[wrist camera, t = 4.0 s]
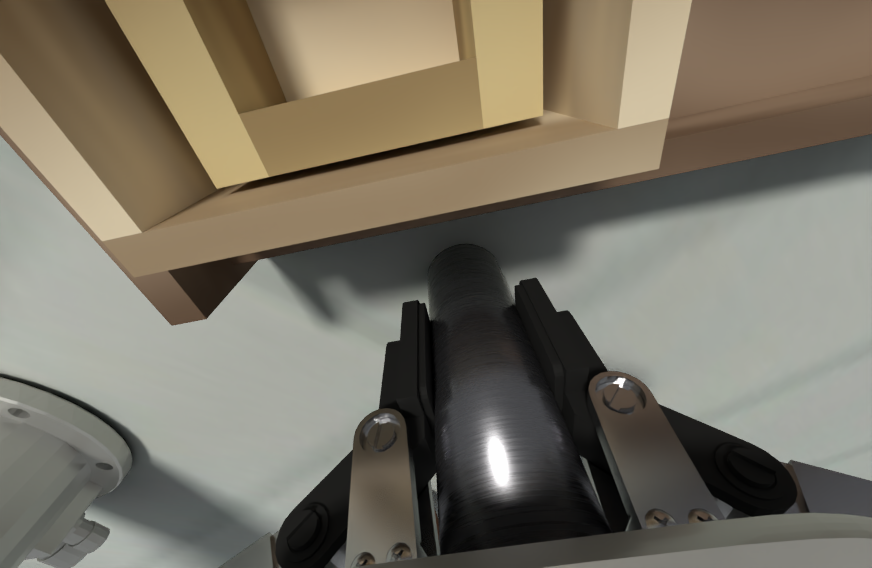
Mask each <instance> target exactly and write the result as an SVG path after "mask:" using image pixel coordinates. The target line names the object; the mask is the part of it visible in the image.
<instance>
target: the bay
mask: <svg viewBox="0 0 872 568" xmlns="http://www.w3.org/2000/svg"><path fill="white" fill-rule="evenodd" d="M869 134H872V0H692V3H691V8H690V14H689V19H688V24H687V29H686V34H685V39H684V44H683V49H682V54H681V59H680V64H679V69H678V74H677V79H676V85H675V90H674V95H673V100H672V105H671V110H670V115H669V120H668V125H667V130H666V135H665V140H664V145H663V150H662V156H661V161H660V166H659V169H655V170H651V171H646V172H641V173H636V174H631V175H627V176H622V177H617V178H612V179H607V180H602V181H598V182H593V183H588V184H583V185H578V186H573V187H569V188H564V189H559V190H554V191H549V192H544V193H540V194H535V195H530V196H525V197H520V198H516V199H511V200H506V201H501V202H496V203H491V204H487V205H482V206H477V207H472V208H467V209H462V210H458V211H453V212H448V213H443V214H438V215H433V216H429V217H424V218H419V219H414V220H409V221H405V222H400V223H395V224H390V225H385V226H380V227H376V228H371V229H366V230H361V231H356V232H351V233H347V234H342V235H337V236H332V237H327V238H322V239H318V240H313V241H308V242H303V243H298V244H293V245H289V246H284V247H279V248H274V249H269V250H265V251H260V252H255V253H250V254H245V255H240V256H236V257H231V258H226V259H221V260H216V261H211V262H207V263H202V264H197V265H192V266H187V267H182V268H178V269H173V270H168V271H163V272H158V273H154V274H149V275H144V276H139V277H133V276H132V275H131V274H130V272H129V271H128V270H127V269H126V268H125V267H124V266H123V265H122V263H121V262H120V261H119V260H118V259H117V258H116V257H115V255H114V254H113V253H112V252H111V251H110V250H109V249H108V248H107V246H106V245H105V244H104V243H103V242H102V241H101V240H100V239H99V237H98V236H97V235H96V234H95V233H94V232H93V231H92V230H91V228H90V227H89V226H88V225H87V224H86V223H85V222H84V221H83V219H82V218H81V217H80V216H79V215H78V214H77V213H76V212H75V210H74V209H73V208H72V207H71V206H70V205H69V204H68V202H67V201H66V200H65V199H64V198H63V197H62V196H61V195H60V193H59V192H58V191H57V190H56V189H55V188H54V187H53V186H52V184H51V183H50V182H49V181H48V180H47V179H46V178H45V177H44V175H43V174H42V173H41V172H40V171H39V170H38V169H37V168H36V166H35V165H34V164H33V163H32V162H31V161H30V160H29V158H28V157H27V156H26V155H25V154H24V153H23V152H22V151H21V149H20V148H19V147H18V146H17V145H16V144H15V143H14V142H13V140H12V139H11V138H10V137H9V136H8V135H7V134H6V133H5V131H4V130H3V129H2V128H1V127H0V135H1V136H2V137H3V139H4V140H5V141H6V142H7V143H8V144H9V145H10V146H11V147H12V149H13V150H14V151H15V152H16V153H17V154H18V155H19V156H20V157H21V159H22V160H23V161H24V162H25V163H26V164H27V165H28V166H29V167H30V169H31V170H32V171H33V172H34V173H35V174H36V175H37V176H38V178H39V179H40V180H41V181H42V182H43V183H44V184H45V185H46V186H47V188H48V189H49V190H50V191H51V192H52V193H53V194H54V195H55V196H56V198H57V199H58V200H59V201H60V202H61V203H62V204H63V205H64V206H65V208H66V209H67V210H68V211H69V212H70V213H71V214H72V215H73V216H74V218H75V219H76V220H77V221H78V222H79V223H80V224H81V225H82V226H83V228H84V229H85V230H86V231H87V232H88V233H89V234H90V235H91V236H92V238H93V239H94V240H95V241H96V242H97V243H98V244H99V245H100V246H101V248H102V249H103V250H104V251H105V252H106V253H107V254H108V255H109V256H110V258H111V259H112V260H113V261H114V262H115V263H116V264H117V265H118V267H119V268H120V269H121V270H122V271H123V272H124V273H125V274H126V275H127V277H128V278H129V279H130V280H131V281H132V282H133V283H134V284H135V285H136V287H137V288H138V289H139V290H140V291H141V292H142V293H143V294H144V295H145V297H146V298H147V299H148V300H149V301H150V302H151V303H152V304H153V305H154V307H155V308H156V309H157V310H158V311H159V312H160V313H161V314H162V315H163V317H164V318H165V319H166V320H167V321H168V322H169V323H170V324H171V325H178V324H183V323H188V322H193V321H198V320H203V319H207V318H208V317H209V315H210V314H211V313H212V312H213V311H214V310H215V309H216V307H217V306H218V305H219V304H220V303H221V302H222V301H223V299H224V298H225V297H226V296H227V295H228V294H229V293H230V291H231V290H232V289H233V288H234V287H235V286H236V285H237V283H238V282H239V281H240V280H241V279H242V278H243V277H244V275H245V274H246V273H247V272H248V271H249V270H250V269H251V267H252V266H253V265H254V264H255V263H256V262H257V261H258V260H260V259H265V258H270V257H275V256H280V255H285V254H289V253H294V252H299V251H304V250H309V249H314V248H319V247H323V246H328V245H333V244H338V243H343V242H348V241H353V240H358V239H362V238H367V237H372V236H377V235H382V234H387V233H392V232H397V231H401V230H406V229H411V228H416V227H421V226H426V225H431V224H436V223H440V222H445V221H450V220H455V219H460V218H465V217H470V216H475V215H479V214H484V213H489V212H494V211H499V210H504V209H509V208H514V207H518V206H523V205H528V204H533V203H538V202H543V201H548V200H552V199H557V198H562V197H567V196H572V195H577V194H582V193H587V192H591V191H596V190H601V189H606V188H611V187H616V186H621V185H626V184H630V183H635V182H640V181H645V180H650V179H655V178H660V177H665V176H669V175H674V174H679V173H684V172H689V171H694V170H699V169H704V168H708V167H713V166H718V165H723V164H728V163H733V162H738V161H743V160H747V159H752V158H757V157H762V156H767V155H772V154H777V153H782V152H786V151H791V150H796V149H801V148H806V147H811V146H816V145H820V144H825V143H830V142H835V141H840V140H845V139H850V138H855V137H859V136H864V135H869Z"/></svg>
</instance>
